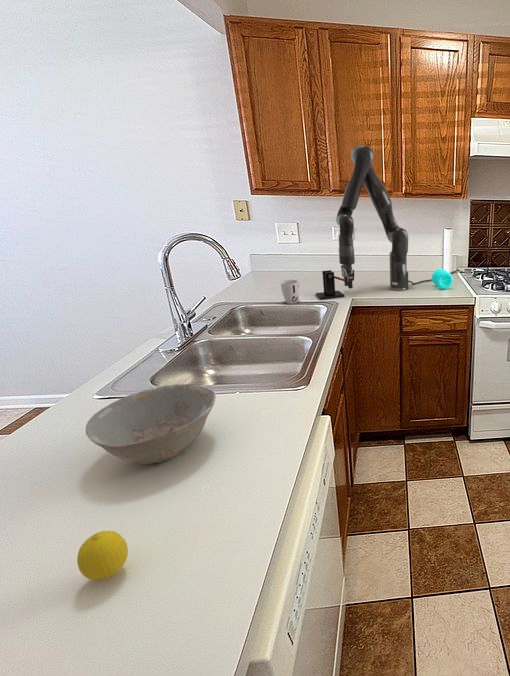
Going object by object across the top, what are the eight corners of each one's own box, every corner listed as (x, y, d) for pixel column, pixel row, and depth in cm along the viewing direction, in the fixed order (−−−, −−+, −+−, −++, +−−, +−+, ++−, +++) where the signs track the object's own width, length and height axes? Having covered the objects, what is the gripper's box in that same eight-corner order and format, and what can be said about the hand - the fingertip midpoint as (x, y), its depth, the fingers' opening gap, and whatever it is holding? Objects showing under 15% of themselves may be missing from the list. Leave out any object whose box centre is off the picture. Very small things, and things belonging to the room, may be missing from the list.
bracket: (338, 292, 208) (337, 268, 204) (344, 297, 201) (342, 272, 197) (315, 295, 202) (313, 270, 198) (320, 300, 195) (318, 274, 190)
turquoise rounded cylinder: (436, 290, 219) (436, 272, 215) (431, 285, 227) (431, 268, 224) (453, 289, 222) (453, 271, 218) (447, 284, 231) (447, 267, 227)
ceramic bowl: (74, 496, 74) (57, 452, 71) (128, 426, 95) (117, 389, 91) (207, 475, 80) (198, 434, 77) (231, 414, 101) (224, 379, 97)
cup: (294, 305, 186) (292, 284, 182) (279, 303, 187) (276, 283, 184) (304, 300, 193) (302, 280, 190) (289, 299, 195) (286, 279, 191)
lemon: (82, 577, 59) (65, 537, 57) (127, 552, 64) (113, 513, 61) (92, 600, 56) (75, 559, 54) (138, 572, 60) (125, 532, 58)
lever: (347, 283, 207) (348, 278, 207) (350, 285, 203) (352, 280, 203) (323, 275, 199) (325, 271, 199) (326, 277, 195) (327, 273, 195)
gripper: (358, 256, 196) (360, 289, 202) (349, 251, 207) (350, 283, 213) (344, 257, 192) (346, 291, 198) (334, 252, 203) (337, 284, 209)
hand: (348, 286), depth 205 cm, fingers closed on lever, 5 cm apart
